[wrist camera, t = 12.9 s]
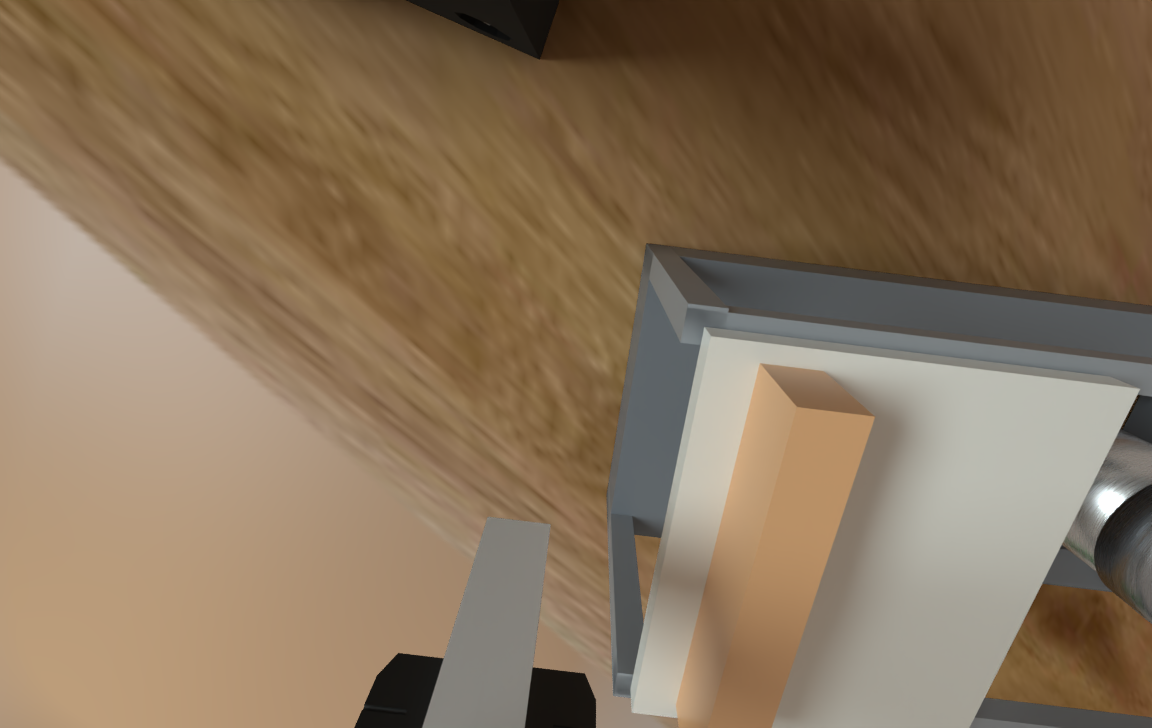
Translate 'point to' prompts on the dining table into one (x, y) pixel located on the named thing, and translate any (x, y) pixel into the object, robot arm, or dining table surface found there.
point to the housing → (856, 317)
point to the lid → (859, 531)
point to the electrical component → (501, 19)
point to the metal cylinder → (1119, 523)
